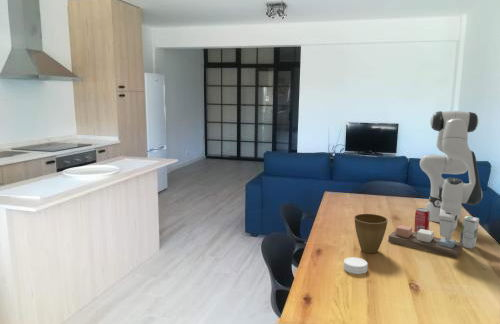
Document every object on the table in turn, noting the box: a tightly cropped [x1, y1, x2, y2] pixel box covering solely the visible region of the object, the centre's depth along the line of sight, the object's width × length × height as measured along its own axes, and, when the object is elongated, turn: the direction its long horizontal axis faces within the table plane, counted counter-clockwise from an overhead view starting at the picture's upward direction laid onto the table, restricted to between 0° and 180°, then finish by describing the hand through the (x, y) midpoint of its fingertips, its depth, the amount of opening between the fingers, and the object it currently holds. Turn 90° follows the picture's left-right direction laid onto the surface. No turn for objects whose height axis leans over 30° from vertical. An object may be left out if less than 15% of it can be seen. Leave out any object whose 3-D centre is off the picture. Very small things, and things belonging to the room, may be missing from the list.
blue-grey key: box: [439, 237, 457, 248], centre depth 180 cm, size 6×6×4 cm
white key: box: [417, 229, 434, 243], centre depth 185 cm, size 6×6×4 cm
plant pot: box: [354, 213, 388, 254], centre depth 178 cm, size 15×15×16 cm
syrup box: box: [459, 215, 480, 250], centre depth 184 cm, size 6×6×14 cm
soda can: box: [413, 207, 430, 233], centre depth 202 cm, size 7×7×13 cm
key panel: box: [387, 229, 463, 259], centre depth 186 cm, size 13×31×3 cm, turn 52°
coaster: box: [342, 256, 369, 275], centre depth 160 cm, size 10×10×4 cm
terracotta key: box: [395, 224, 413, 238], centre depth 191 cm, size 6×6×4 cm
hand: (447, 240), depth 179 cm, fingers closed
